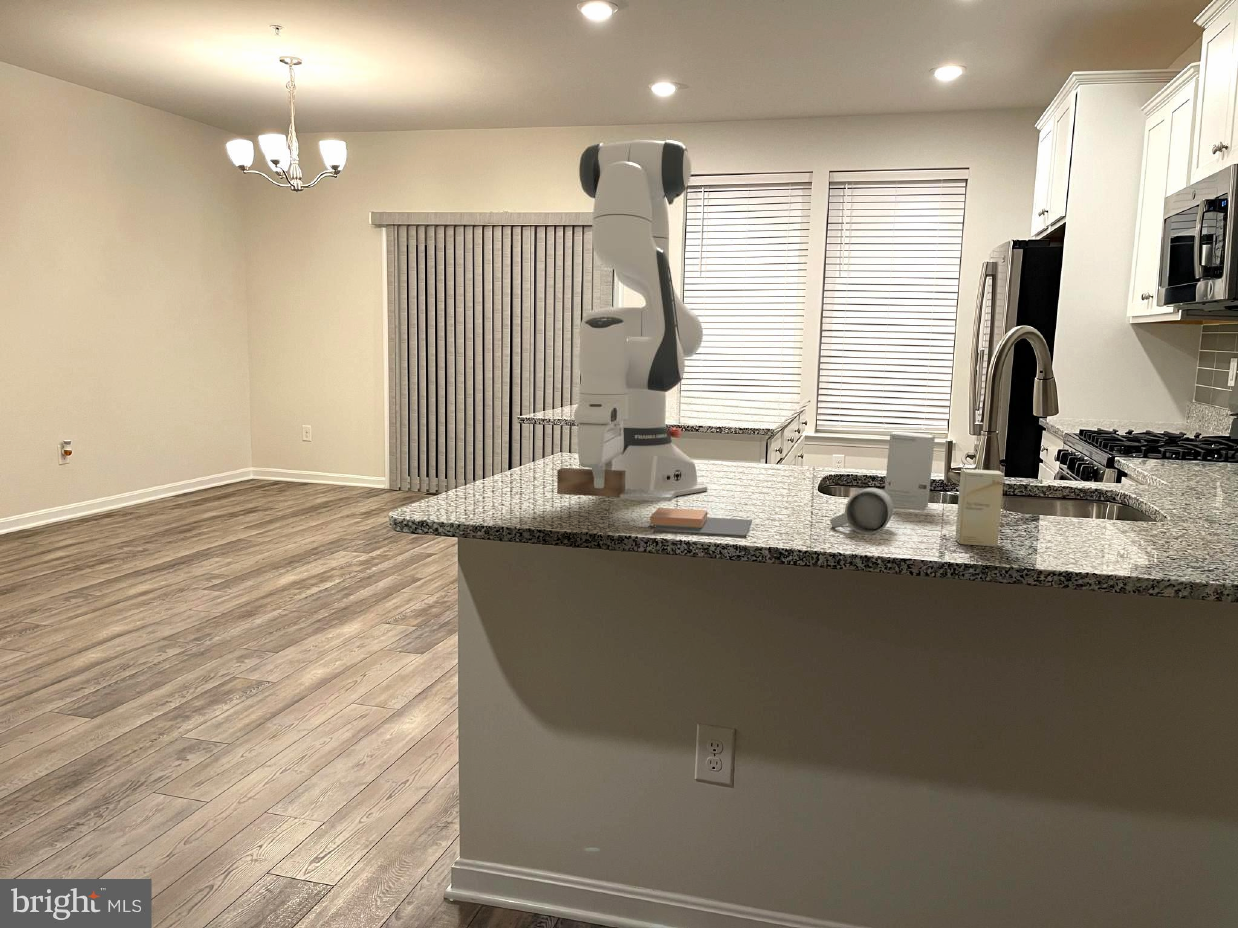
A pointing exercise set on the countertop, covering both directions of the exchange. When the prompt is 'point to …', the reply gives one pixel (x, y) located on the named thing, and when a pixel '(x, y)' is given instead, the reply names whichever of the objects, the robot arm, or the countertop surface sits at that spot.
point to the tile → (678, 518)
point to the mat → (714, 528)
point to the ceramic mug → (866, 511)
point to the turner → (583, 484)
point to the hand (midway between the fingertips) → (602, 485)
